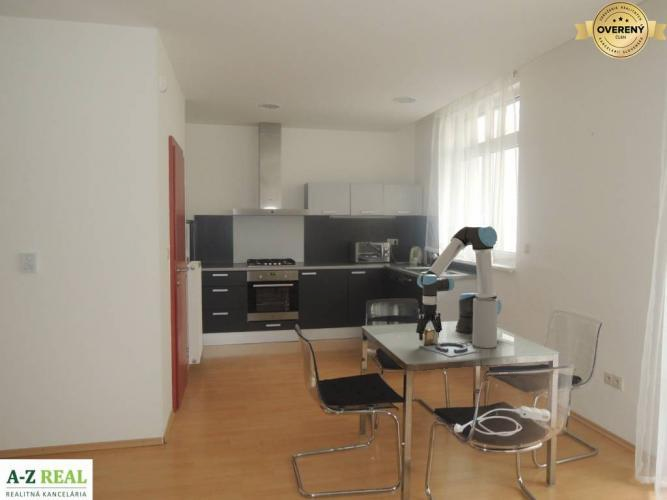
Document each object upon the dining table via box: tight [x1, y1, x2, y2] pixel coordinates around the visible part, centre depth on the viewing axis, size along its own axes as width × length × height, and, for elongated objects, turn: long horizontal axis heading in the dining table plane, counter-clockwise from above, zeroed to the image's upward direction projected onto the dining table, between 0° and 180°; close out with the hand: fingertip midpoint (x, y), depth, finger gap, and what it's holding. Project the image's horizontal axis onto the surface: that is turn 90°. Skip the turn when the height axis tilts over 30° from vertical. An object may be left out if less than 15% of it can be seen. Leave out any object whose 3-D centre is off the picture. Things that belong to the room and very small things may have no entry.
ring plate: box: [423, 344, 481, 358], centre depth 258 cm, size 20×20×1 cm
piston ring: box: [435, 341, 469, 353], centre depth 257 cm, size 16×16×2 cm
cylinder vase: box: [472, 298, 499, 349], centre depth 265 cm, size 12×12×25 cm
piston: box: [423, 328, 436, 347], centre depth 267 cm, size 6×6×8 cm
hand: (429, 344), depth 267 cm, fingers open, 9 cm apart
